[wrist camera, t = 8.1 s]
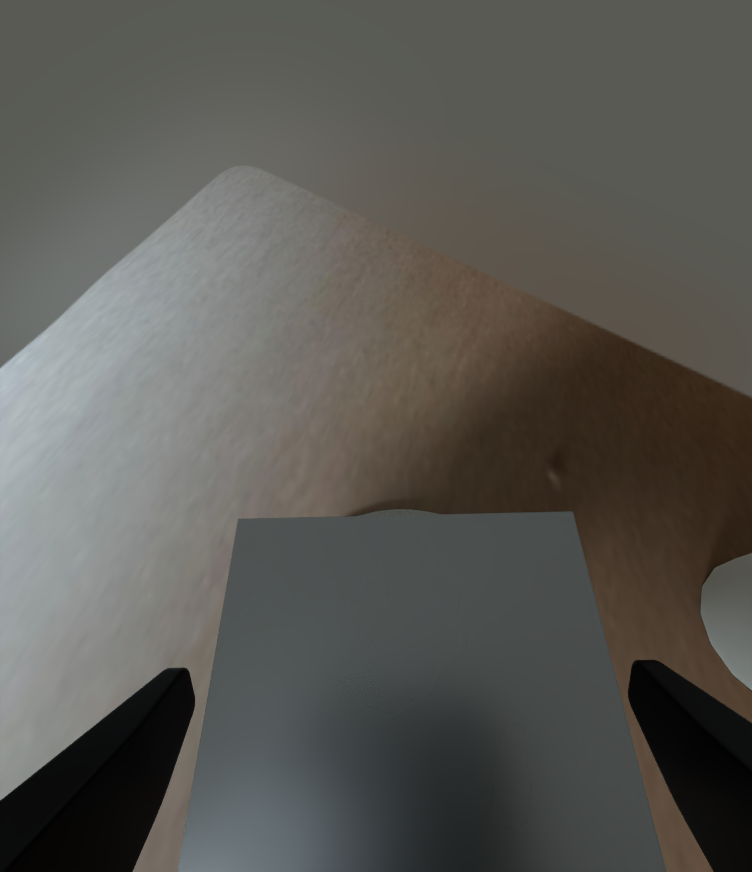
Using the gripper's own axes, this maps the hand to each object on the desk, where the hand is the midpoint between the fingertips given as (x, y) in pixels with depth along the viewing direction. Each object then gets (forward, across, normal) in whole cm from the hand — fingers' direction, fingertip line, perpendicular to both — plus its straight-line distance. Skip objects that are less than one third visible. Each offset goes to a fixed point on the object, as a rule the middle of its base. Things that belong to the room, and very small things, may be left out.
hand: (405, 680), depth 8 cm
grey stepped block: (+6, 0, +6) cm, 8 cm away
